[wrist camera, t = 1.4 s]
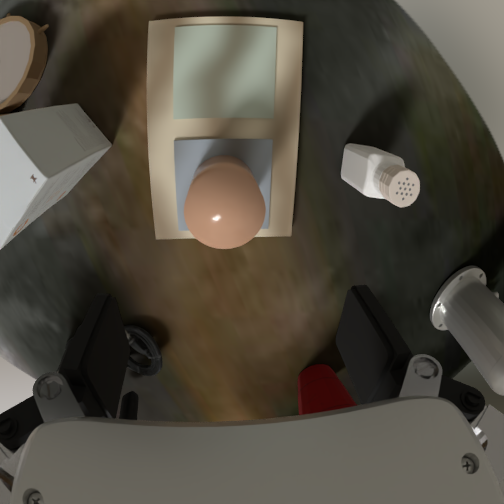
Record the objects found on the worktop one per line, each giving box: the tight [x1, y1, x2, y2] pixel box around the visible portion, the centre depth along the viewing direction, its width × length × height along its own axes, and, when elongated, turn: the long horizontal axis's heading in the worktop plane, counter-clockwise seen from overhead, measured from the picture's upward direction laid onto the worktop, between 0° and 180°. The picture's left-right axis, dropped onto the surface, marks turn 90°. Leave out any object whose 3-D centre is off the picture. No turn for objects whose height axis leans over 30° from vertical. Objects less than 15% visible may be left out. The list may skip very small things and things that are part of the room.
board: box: [147, 17, 303, 239], centre depth 26 cm, size 14×22×2 cm, turn 178°
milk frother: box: [56, 325, 162, 420], centre depth 32 cm, size 14×16×15 cm
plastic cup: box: [298, 364, 358, 415], centre depth 40 cm, size 11×11×12 cm
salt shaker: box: [341, 143, 420, 207], centre depth 26 cm, size 4×4×10 cm
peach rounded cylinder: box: [184, 155, 266, 249], centre depth 25 cm, size 6×6×7 cm
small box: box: [0, 103, 112, 249], centre depth 20 cm, size 8×6×13 cm
